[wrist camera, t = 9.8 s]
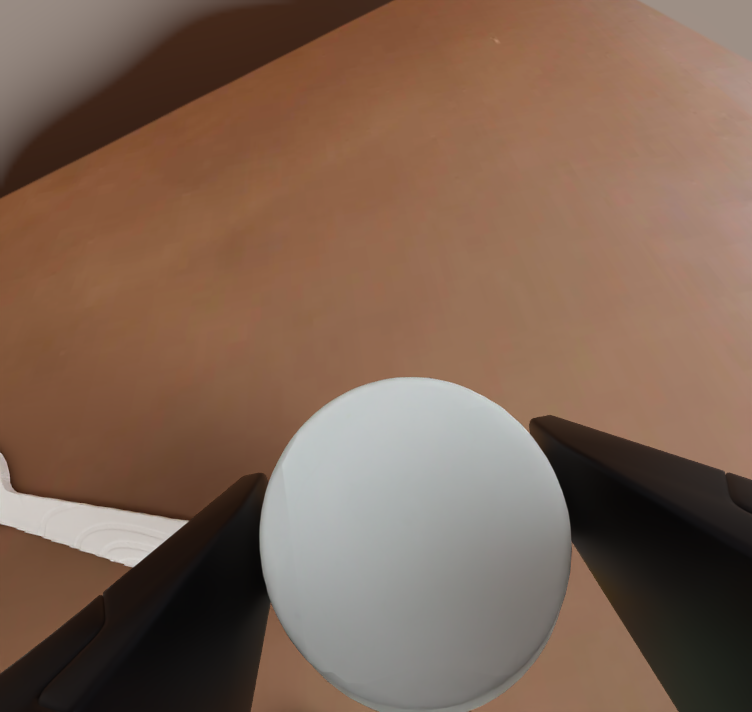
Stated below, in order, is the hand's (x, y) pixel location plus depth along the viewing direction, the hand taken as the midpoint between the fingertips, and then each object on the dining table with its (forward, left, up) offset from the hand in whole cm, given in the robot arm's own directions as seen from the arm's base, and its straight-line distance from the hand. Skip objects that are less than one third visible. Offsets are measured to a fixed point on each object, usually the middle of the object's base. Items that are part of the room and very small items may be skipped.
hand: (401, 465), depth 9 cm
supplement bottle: (-1, +1, -7) cm, 7 cm away
